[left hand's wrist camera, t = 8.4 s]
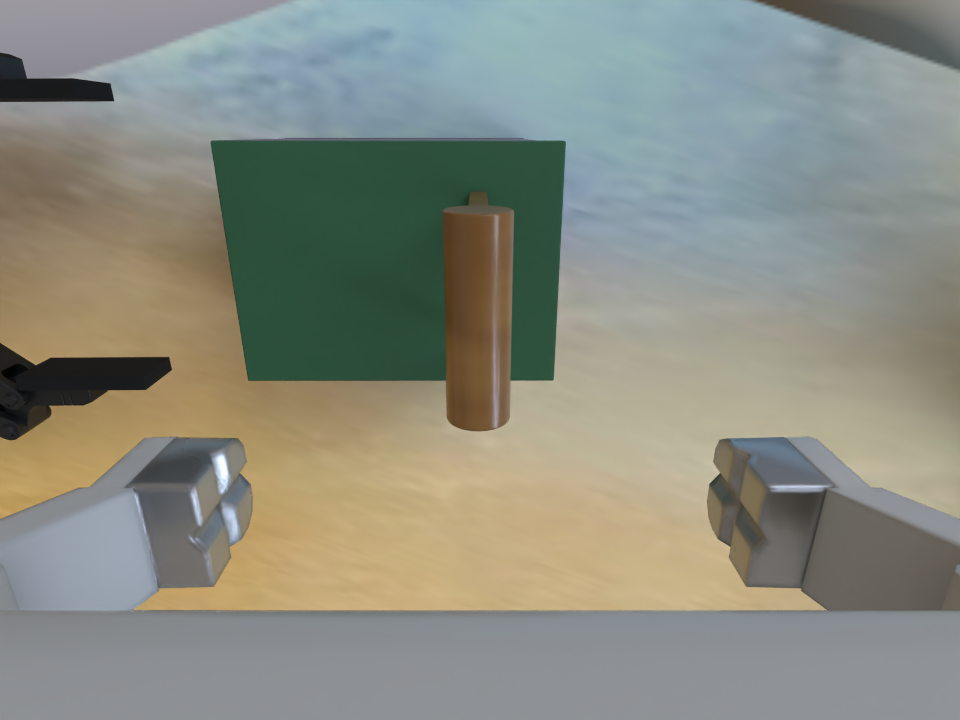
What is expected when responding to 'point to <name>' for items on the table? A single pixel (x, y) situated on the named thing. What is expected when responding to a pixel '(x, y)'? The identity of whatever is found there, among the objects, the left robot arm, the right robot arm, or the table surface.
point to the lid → (397, 263)
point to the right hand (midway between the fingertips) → (130, 244)
